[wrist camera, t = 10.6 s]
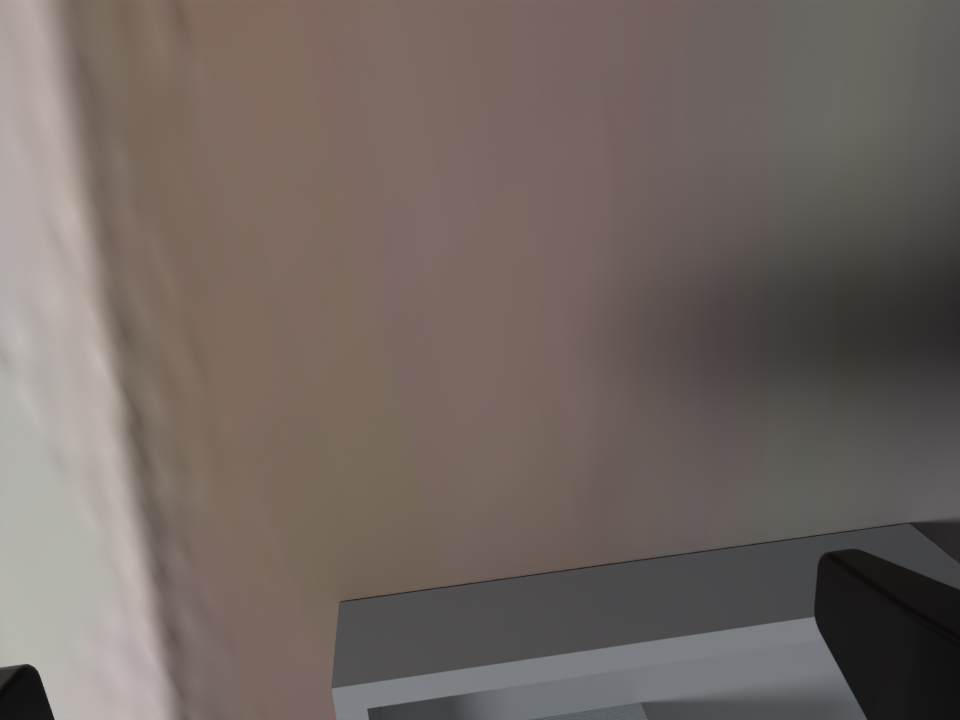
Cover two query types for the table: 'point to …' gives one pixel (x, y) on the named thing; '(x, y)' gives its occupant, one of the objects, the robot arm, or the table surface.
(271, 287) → the table surface
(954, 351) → the table surface
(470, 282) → the table surface
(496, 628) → the tray
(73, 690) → the table surface
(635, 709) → the steel block
